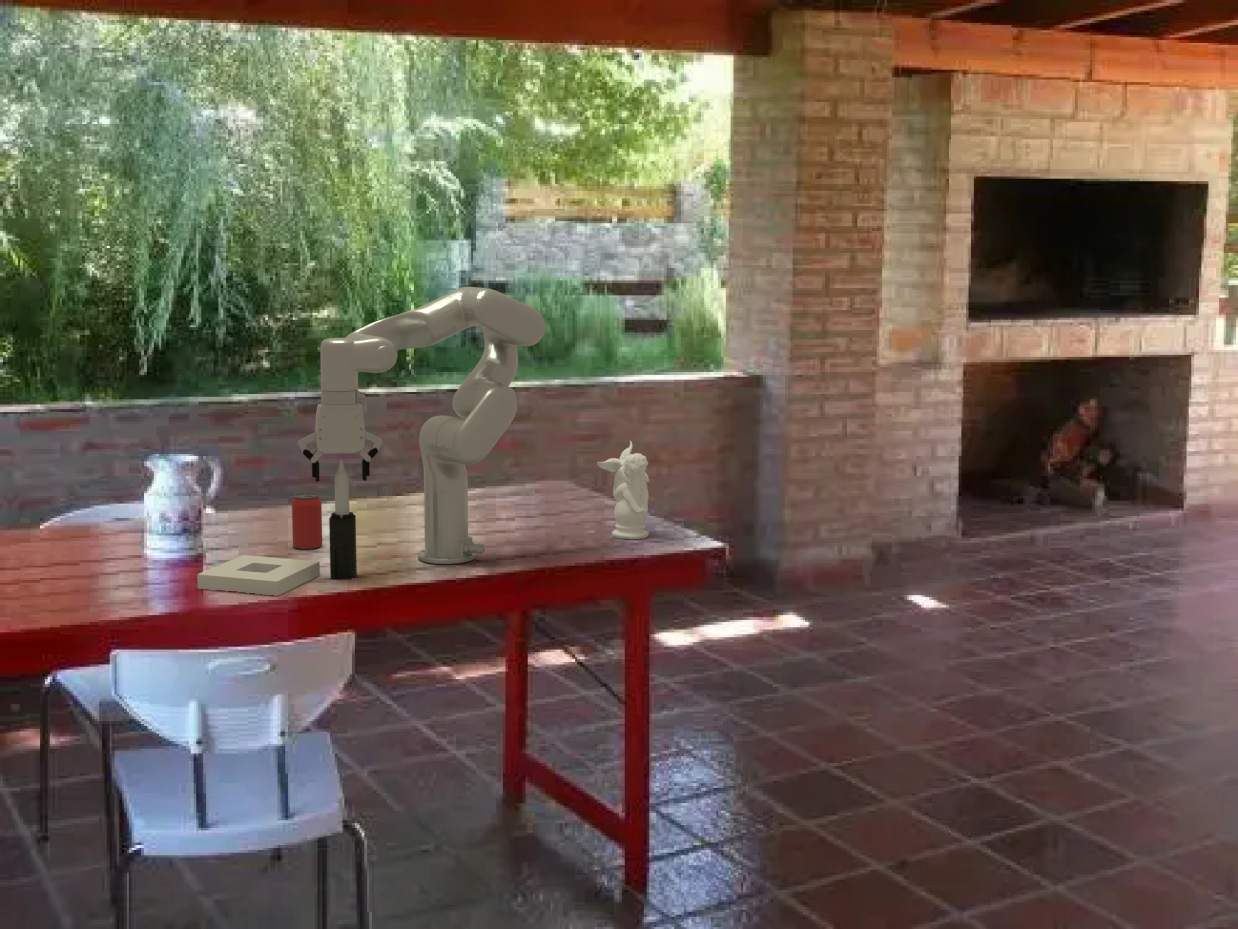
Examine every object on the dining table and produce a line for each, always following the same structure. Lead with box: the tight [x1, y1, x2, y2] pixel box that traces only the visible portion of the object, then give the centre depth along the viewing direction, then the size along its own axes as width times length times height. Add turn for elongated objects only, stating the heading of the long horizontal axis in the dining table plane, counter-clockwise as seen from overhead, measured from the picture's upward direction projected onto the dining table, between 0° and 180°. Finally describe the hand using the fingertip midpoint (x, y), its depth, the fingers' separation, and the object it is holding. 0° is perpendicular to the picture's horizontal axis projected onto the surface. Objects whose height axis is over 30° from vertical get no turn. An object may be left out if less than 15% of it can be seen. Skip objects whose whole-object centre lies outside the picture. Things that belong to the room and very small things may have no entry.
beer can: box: [291, 492, 323, 550], centre depth 354 cm, size 7×7×12 cm
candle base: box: [196, 554, 321, 597], centre depth 322 cm, size 18×18×3 cm
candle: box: [328, 458, 358, 580], centre depth 326 cm, size 5×5×25 cm
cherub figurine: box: [596, 440, 650, 540], centre depth 368 cm, size 12×12×22 cm
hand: (340, 480), depth 324 cm, fingers open, 9 cm apart
